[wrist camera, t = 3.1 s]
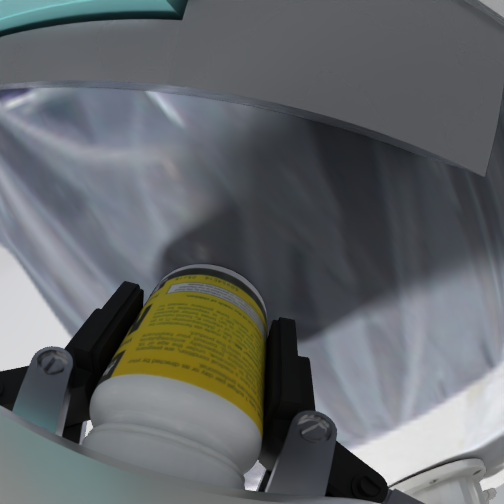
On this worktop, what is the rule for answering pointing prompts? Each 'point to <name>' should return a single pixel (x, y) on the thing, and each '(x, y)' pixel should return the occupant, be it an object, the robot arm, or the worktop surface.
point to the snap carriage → (82, 12)
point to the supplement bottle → (188, 380)
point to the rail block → (300, 65)
